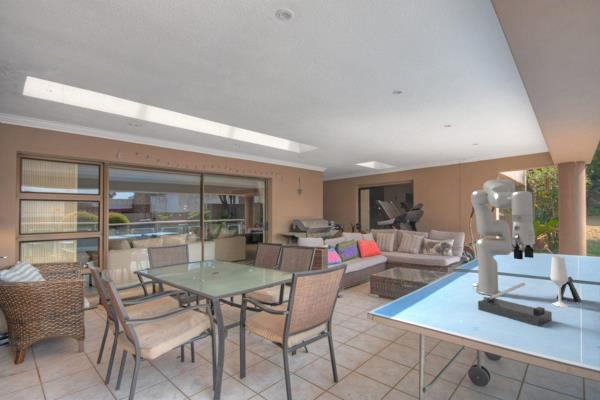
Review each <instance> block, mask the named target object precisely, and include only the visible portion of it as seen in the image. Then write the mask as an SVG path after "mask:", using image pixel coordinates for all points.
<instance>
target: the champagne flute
mask: <svg viewBox="0 0 600 400" xmlns="http://www.w3.org/2000/svg"><path fill="white" fill-rule="evenodd" d="M567 276H568V271H567V265H566V260H565V256H564V257H563V256H556V255H555V256H554V255H553V256H551V265H550V275H549V277H550V280H551V282H552V283H554V284H555V285H556V286H557V295H558V299H557V300H558V301H555V302H553V303H551V305H552V304H553V305H552V306H554V305H555V306H556V307H559V306H560V307H561V308H569V307H568V306H569V305H568V304H566V303H564V302H563V301H562V300H561V287H562V285H564V284H565V283H566V282H567V281H569V279H568V277H567Z"/></svg>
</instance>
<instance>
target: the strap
mask: <svg viewBox="0 0 600 400" xmlns="http://www.w3.org/2000/svg"><path fill="white" fill-rule="evenodd" d="M526 285H527V284H526V283H525V282H521V283H518V284H516V285H513V286H512V287H509V288H507V289H504V290H502V291H500V293H498V294H495V295H493V296H491V295H490V296H491V297H490V296H489V297H487V298H488V300H492V299H494V298H495V299H498V297H501V296H503V295H505V294H508V293H510V292H512V291H515V290H517V289H519V288H521V287H524V286H526Z"/></svg>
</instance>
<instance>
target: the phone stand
mask: <svg viewBox="0 0 600 400" xmlns="http://www.w3.org/2000/svg"><path fill="white" fill-rule="evenodd" d="M567 277H568V275H567ZM567 287H568V288H569V290H570V293H571V296H572V297H565V296H564V294H565V292H566V288H567ZM555 298H556V299H557V300H558V294H557V295H556V297H555ZM566 300H567V302H572V301H573V303H577V302H579V303H580V302H581V301H582V299H581V297H580V294H579V293H578V291H577V289H576V287H575V285H574V282H573V278H572V276H569V277H568V281H567V282H566V283H565V284H564V285H562V286H561V301H566Z"/></svg>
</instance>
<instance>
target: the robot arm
mask: <svg viewBox="0 0 600 400" xmlns="http://www.w3.org/2000/svg"><path fill="white" fill-rule="evenodd" d="M470 202H471V206H472V209H473V210H474V213H475V221H476V222H475V223H476V230H477V233H478V235H480V236H484V237H482V238H479V239H477V240H476V241H475V249H476V255H477V268H478V269H477V270H478V271H477V272H478V273H477V277H478V278H477V279H478V283H476V282H473V283H472V287H473V288H474V287H475V288H476V289H475V292H476V293H478V294H480V295H484V296H491V295H495V294H498V293H500V292H501V291H500V290H499V276H498V274H499V271H498V262H497V260H496V259H495V258H494V256H508V255H510V254H511V253H512V250H513V258H514V259H515V260H516V259H517V260H523V259H524V258H531V259H533V258H534V245H535V244H536V234H535V233H536V232H535V227H534V215H533V214H534V207H533V206H534V205H533V204H534V203H533V193H532V192H531V191H525V190H523V191H522V190H521V191H516V184H515V183H514V181H513V180H511V179H506V178H505V179H489V180H487V181H485V182H484V183H483V186H482V189H479V190H473V192H472V193H471V195H470ZM487 205H491V206H492V207H494V208H497V209H511V223H512V236H511V229H510V225H509V224H508V222H507V221H505V219H504V220H503V219H494V218H493V217H494V216H493V211H492V210H491V208H489V206H487ZM492 237H493V238H492ZM494 237H495V238H494ZM496 237H498V238H496ZM511 237H512V238H511ZM523 246H524V248H523ZM523 250H524V251H523ZM523 252H524V253H523Z"/></svg>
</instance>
